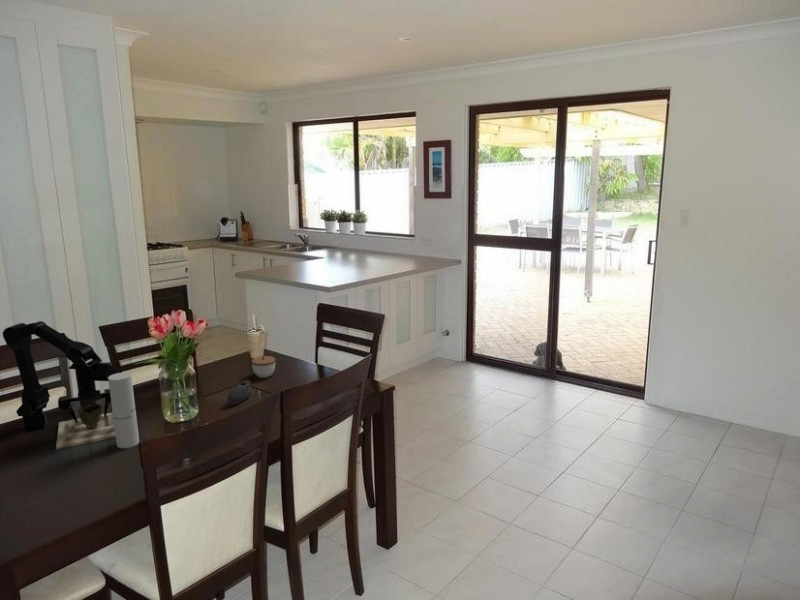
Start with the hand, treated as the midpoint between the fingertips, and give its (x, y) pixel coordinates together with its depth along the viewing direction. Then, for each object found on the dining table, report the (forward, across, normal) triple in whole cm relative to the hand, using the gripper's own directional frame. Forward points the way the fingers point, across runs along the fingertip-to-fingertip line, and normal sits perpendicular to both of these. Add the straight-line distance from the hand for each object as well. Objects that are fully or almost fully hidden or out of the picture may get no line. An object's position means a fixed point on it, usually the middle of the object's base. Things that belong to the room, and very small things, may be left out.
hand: (91, 419), depth 208 cm
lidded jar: (+4, +71, +26) cm, 76 cm away
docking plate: (+4, 0, 0) cm, 4 cm away
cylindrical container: (+4, +11, -18) cm, 22 cm away
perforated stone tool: (+4, +54, +1) cm, 54 cm away
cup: (+3, 0, 0) cm, 3 cm away
